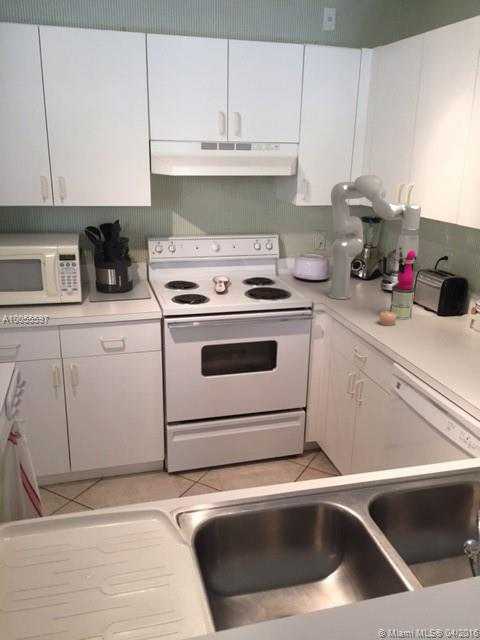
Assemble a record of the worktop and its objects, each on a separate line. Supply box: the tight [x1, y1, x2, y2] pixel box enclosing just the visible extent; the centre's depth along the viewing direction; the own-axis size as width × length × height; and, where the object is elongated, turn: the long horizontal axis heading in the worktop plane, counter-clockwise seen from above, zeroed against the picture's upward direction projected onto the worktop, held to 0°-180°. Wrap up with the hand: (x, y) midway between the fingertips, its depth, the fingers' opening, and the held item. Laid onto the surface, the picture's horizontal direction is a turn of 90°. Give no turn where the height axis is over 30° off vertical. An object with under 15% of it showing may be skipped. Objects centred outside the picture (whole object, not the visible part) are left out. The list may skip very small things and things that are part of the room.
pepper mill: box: [397, 251, 415, 290], centre depth 246 cm, size 7×7×20 cm
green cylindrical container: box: [389, 284, 416, 321], centre depth 251 cm, size 10×10×14 cm
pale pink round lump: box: [379, 310, 397, 327], centre depth 242 cm, size 7×7×5 cm
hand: (405, 271), depth 247 cm, fingers closed on pepper mill, 4 cm apart
